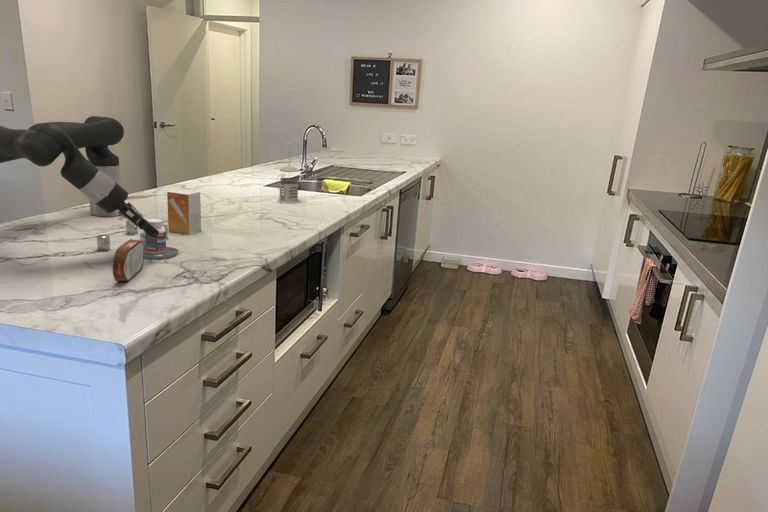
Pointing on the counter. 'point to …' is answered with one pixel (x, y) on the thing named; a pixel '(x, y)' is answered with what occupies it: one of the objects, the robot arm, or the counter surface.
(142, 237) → the cylinder
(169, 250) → the coaster
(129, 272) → the tin
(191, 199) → the small box
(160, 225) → the pill bottle
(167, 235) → the cylinder
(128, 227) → the cylinder
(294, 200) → the french press
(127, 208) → the robot arm
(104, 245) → the spacer near
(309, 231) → the counter surface
